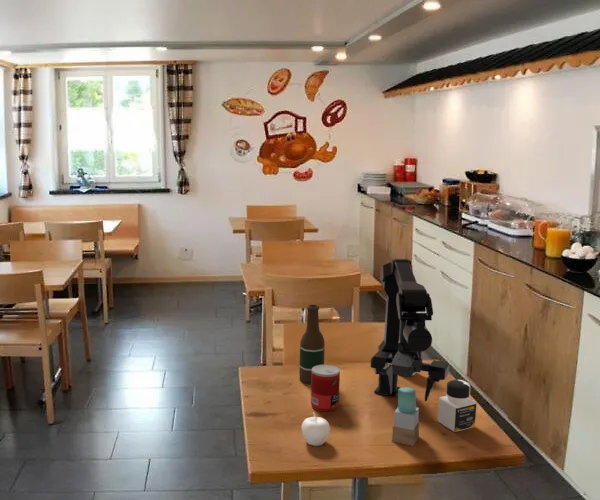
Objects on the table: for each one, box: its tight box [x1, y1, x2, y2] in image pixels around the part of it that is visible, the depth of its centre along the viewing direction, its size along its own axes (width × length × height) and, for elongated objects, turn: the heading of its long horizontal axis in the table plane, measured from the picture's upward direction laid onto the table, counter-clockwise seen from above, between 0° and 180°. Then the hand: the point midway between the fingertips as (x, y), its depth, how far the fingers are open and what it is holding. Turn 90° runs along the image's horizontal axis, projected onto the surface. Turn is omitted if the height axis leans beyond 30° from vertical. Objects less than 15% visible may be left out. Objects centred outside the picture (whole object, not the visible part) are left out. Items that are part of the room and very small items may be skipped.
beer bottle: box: [299, 304, 326, 385], centre depth 201 cm, size 8×8×24 cm
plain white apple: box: [301, 411, 331, 447], centre depth 162 cm, size 7×7×8 cm
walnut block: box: [391, 421, 421, 447], centre depth 165 cm, size 6×6×4 cm
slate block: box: [393, 406, 420, 430], centre depth 165 cm, size 5×5×4 cm
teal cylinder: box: [397, 386, 417, 413], centre depth 164 cm, size 4×4×5 cm
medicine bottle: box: [437, 379, 477, 433], centre depth 173 cm, size 7×7×12 cm
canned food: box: [310, 364, 341, 412], centre depth 183 cm, size 8×8×11 cm
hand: (407, 397), depth 163 cm, fingers open, 9 cm apart
